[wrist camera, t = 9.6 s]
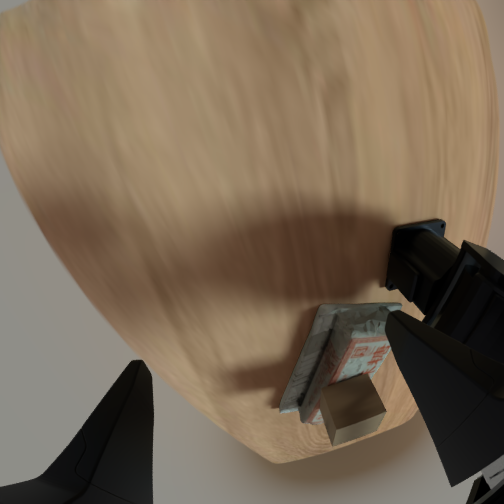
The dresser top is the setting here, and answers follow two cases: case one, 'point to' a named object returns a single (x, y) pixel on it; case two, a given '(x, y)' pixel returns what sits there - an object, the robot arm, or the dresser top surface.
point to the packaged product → (337, 353)
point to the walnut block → (351, 409)
